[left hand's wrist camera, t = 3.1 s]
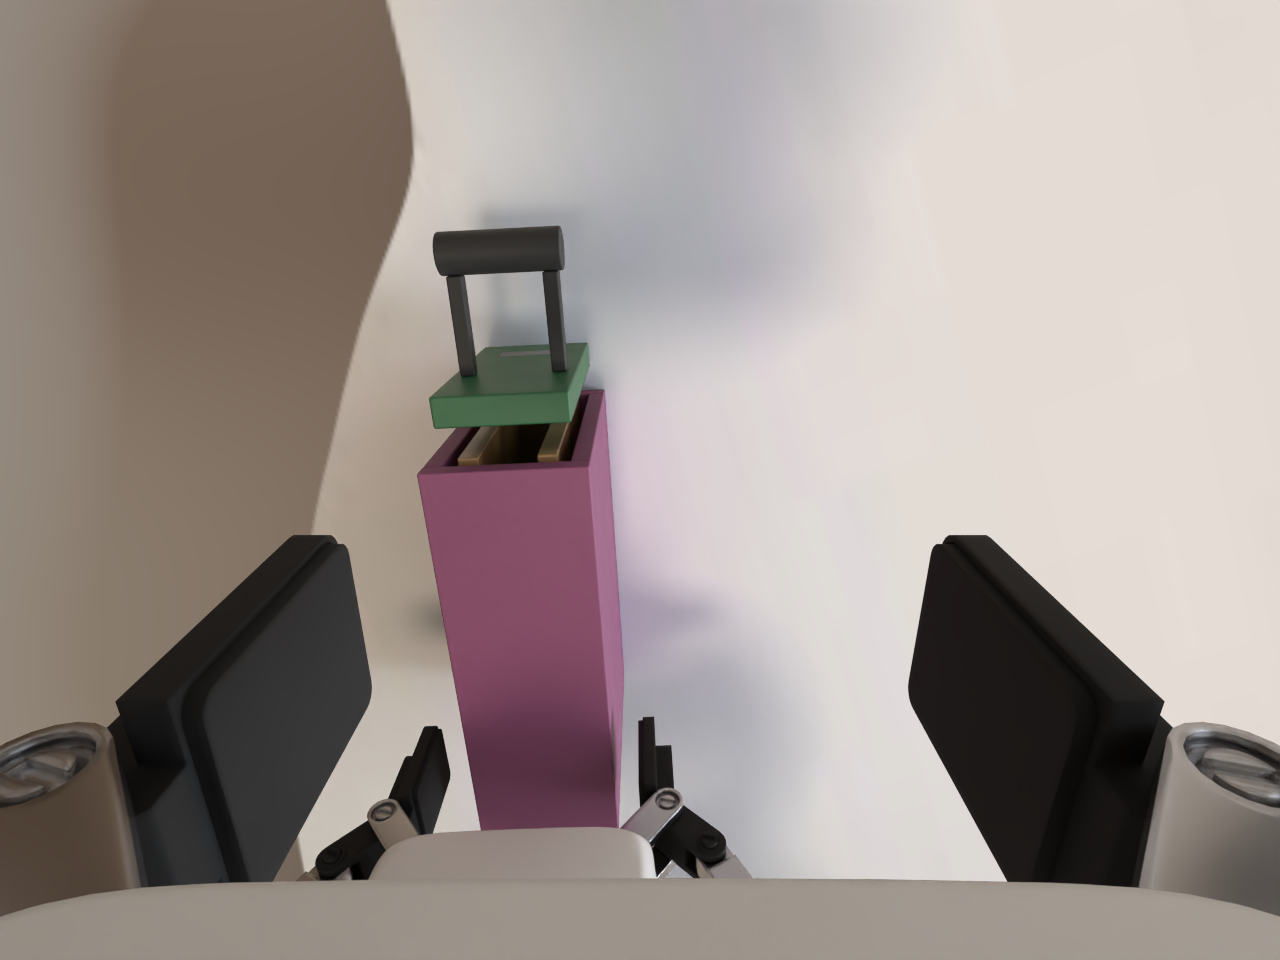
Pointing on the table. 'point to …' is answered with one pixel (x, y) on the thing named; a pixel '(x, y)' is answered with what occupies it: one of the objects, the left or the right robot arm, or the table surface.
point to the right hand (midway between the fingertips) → (543, 745)
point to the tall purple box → (533, 626)
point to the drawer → (510, 355)
